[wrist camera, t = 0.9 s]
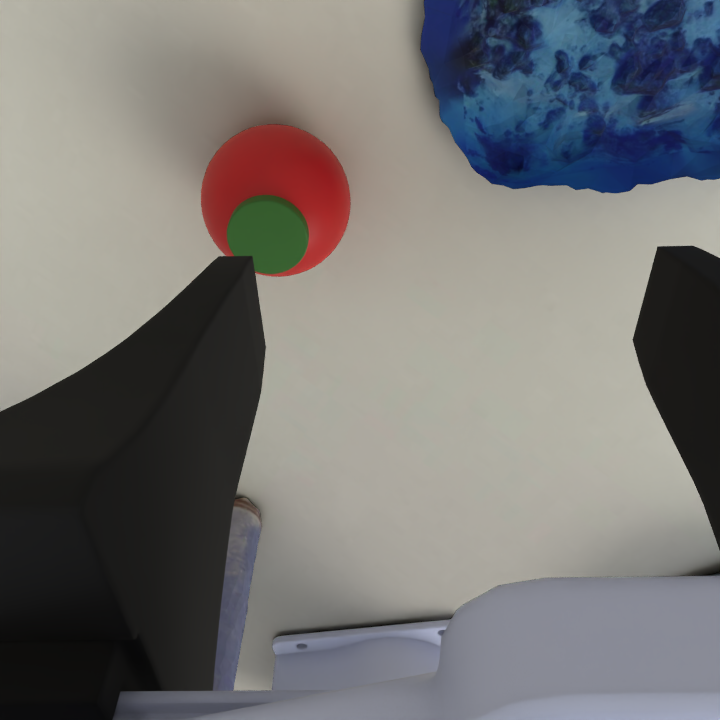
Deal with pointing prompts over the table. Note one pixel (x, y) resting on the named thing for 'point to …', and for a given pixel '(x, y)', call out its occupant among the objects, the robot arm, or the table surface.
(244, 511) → the flask
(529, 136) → the rock
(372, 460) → the table surface
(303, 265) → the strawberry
